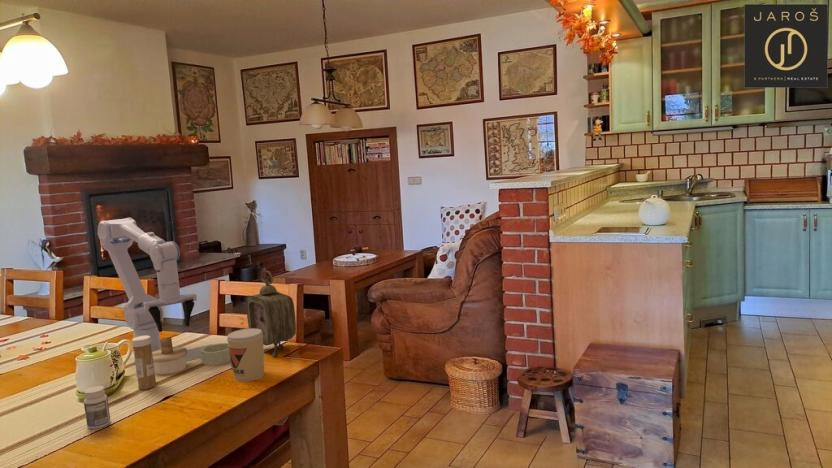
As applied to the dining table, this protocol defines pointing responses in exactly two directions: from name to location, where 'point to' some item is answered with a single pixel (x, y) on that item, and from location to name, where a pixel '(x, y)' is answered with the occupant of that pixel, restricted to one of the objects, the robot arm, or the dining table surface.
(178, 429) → the dining table surface
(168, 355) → the lid
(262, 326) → the tabletop clock
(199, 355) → the slate mat
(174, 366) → the cream bowl
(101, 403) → the pill bottle
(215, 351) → the sage bowl
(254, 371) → the coffee cup
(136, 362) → the sprinkles bottle
